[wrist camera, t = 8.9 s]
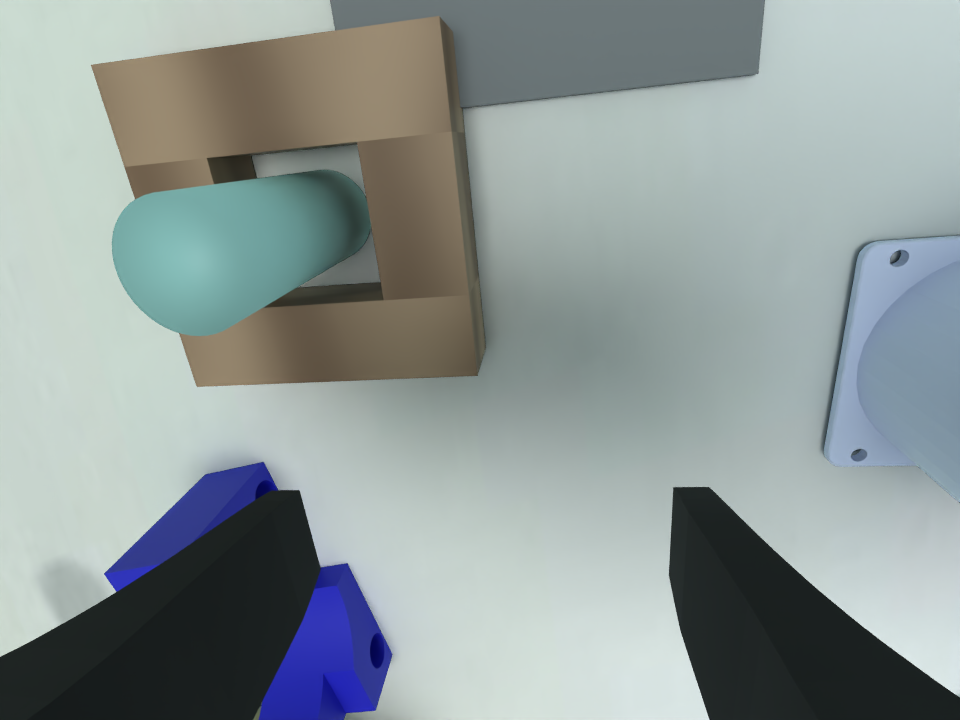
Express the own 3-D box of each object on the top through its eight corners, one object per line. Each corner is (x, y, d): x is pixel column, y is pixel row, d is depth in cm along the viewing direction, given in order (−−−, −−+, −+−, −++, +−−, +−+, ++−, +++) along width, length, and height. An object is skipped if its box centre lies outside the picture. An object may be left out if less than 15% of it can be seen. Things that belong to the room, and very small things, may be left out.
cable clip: (393, 651, 27) (353, 785, 21) (315, 660, 28) (257, 790, 22) (295, 453, 22) (214, 554, 17) (207, 472, 23) (103, 574, 18)
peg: (365, 168, 17) (234, 189, 10) (376, 258, 19) (264, 336, 11) (280, 171, 18) (92, 194, 10) (295, 259, 19) (136, 335, 12)
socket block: (455, 34, 16) (439, 15, 13) (485, 347, 19) (477, 375, 17) (152, 75, 17) (90, 65, 15) (235, 359, 21) (196, 386, 18)
